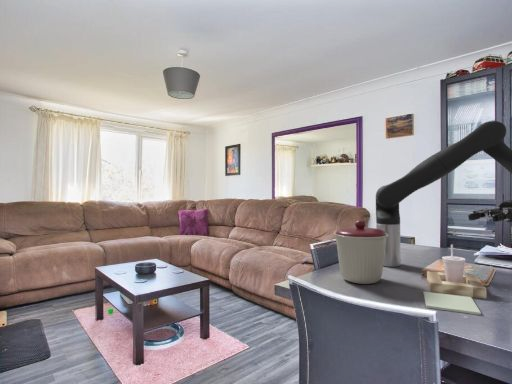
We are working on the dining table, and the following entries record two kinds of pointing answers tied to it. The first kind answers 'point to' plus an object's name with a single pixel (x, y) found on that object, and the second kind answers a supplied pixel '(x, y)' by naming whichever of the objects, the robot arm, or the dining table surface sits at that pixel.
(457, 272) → the smoothie
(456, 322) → the dining table surface
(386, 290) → the dining table surface
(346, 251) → the canister
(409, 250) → the dining table surface
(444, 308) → the mat
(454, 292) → the holder
